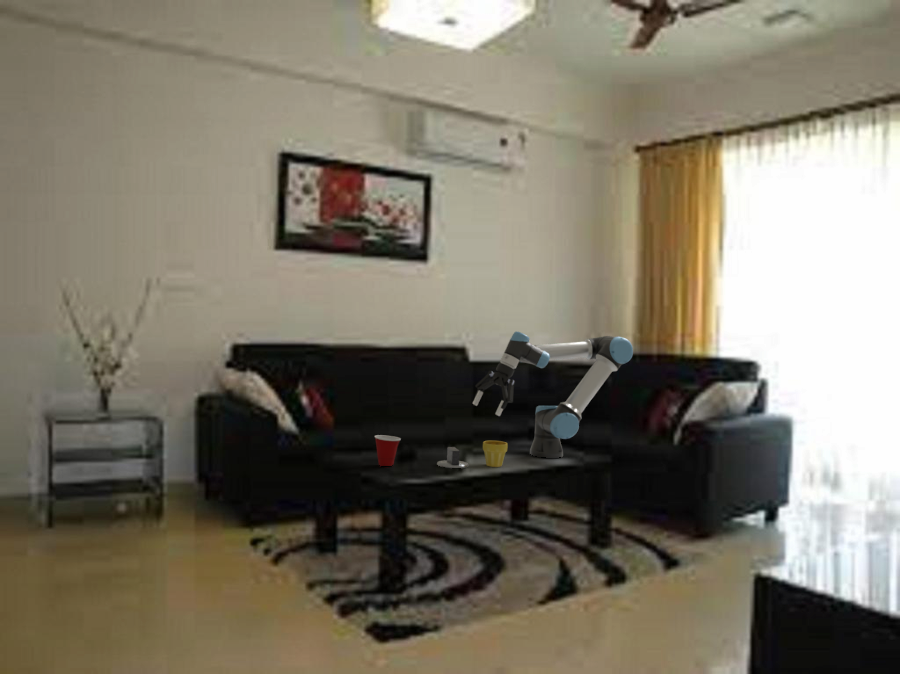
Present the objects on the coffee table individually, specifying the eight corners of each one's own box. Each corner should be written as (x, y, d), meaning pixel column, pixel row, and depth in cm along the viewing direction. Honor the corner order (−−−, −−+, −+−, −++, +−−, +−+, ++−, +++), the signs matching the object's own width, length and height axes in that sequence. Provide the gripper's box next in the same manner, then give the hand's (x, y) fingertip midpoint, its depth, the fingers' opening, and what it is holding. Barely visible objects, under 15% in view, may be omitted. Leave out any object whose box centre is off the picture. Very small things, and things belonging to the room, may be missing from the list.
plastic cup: (401, 468, 322) (402, 438, 322) (374, 468, 320) (375, 438, 320) (398, 463, 333) (399, 434, 332) (372, 463, 331) (373, 434, 331)
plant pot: (504, 468, 332) (505, 445, 332) (480, 466, 334) (481, 443, 334) (507, 464, 342) (509, 441, 342) (484, 462, 344) (485, 439, 344)
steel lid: (463, 463, 342) (464, 446, 342) (471, 469, 329) (472, 451, 329) (434, 463, 339) (434, 446, 339) (440, 469, 326) (441, 451, 326)
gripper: (481, 354, 353) (460, 398, 350) (524, 371, 336) (502, 417, 334) (490, 360, 358) (470, 403, 356) (533, 377, 341) (511, 422, 339)
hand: (485, 410), depth 345 cm, fingers open, 13 cm apart
